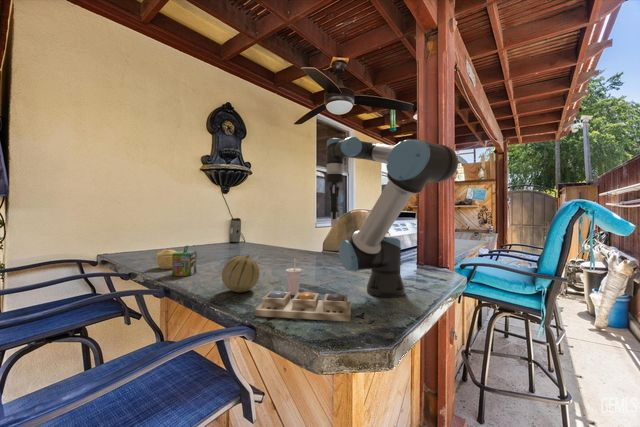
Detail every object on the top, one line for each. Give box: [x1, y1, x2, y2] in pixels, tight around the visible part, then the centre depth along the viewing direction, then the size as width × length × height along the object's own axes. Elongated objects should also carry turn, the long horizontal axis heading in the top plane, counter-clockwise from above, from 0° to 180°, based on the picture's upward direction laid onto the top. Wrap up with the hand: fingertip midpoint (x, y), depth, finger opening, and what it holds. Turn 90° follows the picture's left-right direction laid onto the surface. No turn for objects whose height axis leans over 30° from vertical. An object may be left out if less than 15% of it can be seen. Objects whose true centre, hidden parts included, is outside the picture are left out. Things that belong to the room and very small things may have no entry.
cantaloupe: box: [221, 254, 260, 293], centre depth 111 cm, size 15×15×15 cm
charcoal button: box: [328, 293, 344, 301], centre depth 89 cm, size 5×5×2 cm
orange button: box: [298, 291, 313, 300], centre depth 90 cm, size 5×5×2 cm
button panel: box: [254, 291, 352, 322], centre depth 89 cm, size 30×12×4 cm, turn 83°
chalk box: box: [171, 245, 198, 277], centre depth 139 cm, size 9×9×15 cm
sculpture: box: [155, 249, 178, 270], centre depth 154 cm, size 12×12×11 cm
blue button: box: [269, 290, 285, 298], centre depth 92 cm, size 5×5×2 cm
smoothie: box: [285, 258, 302, 296], centre depth 108 cm, size 6×6×14 cm
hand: (334, 226), depth 122 cm, fingers closed
